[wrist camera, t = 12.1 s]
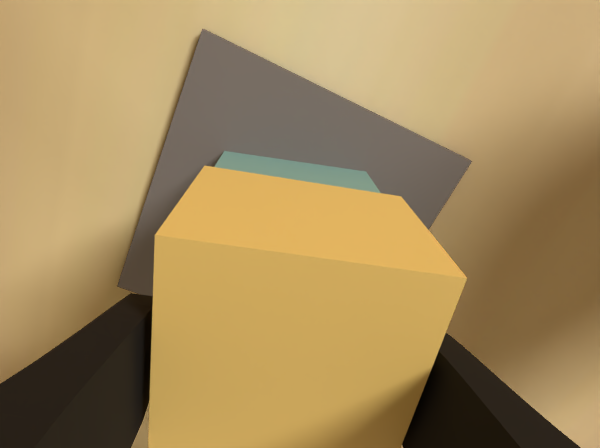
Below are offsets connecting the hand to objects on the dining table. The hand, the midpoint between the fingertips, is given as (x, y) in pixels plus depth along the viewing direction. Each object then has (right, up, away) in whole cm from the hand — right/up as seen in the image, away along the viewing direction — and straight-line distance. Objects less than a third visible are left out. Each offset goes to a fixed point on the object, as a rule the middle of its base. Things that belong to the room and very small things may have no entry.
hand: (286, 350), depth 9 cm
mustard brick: (0, +2, +2) cm, 3 cm away
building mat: (0, +3, +6) cm, 7 cm away
